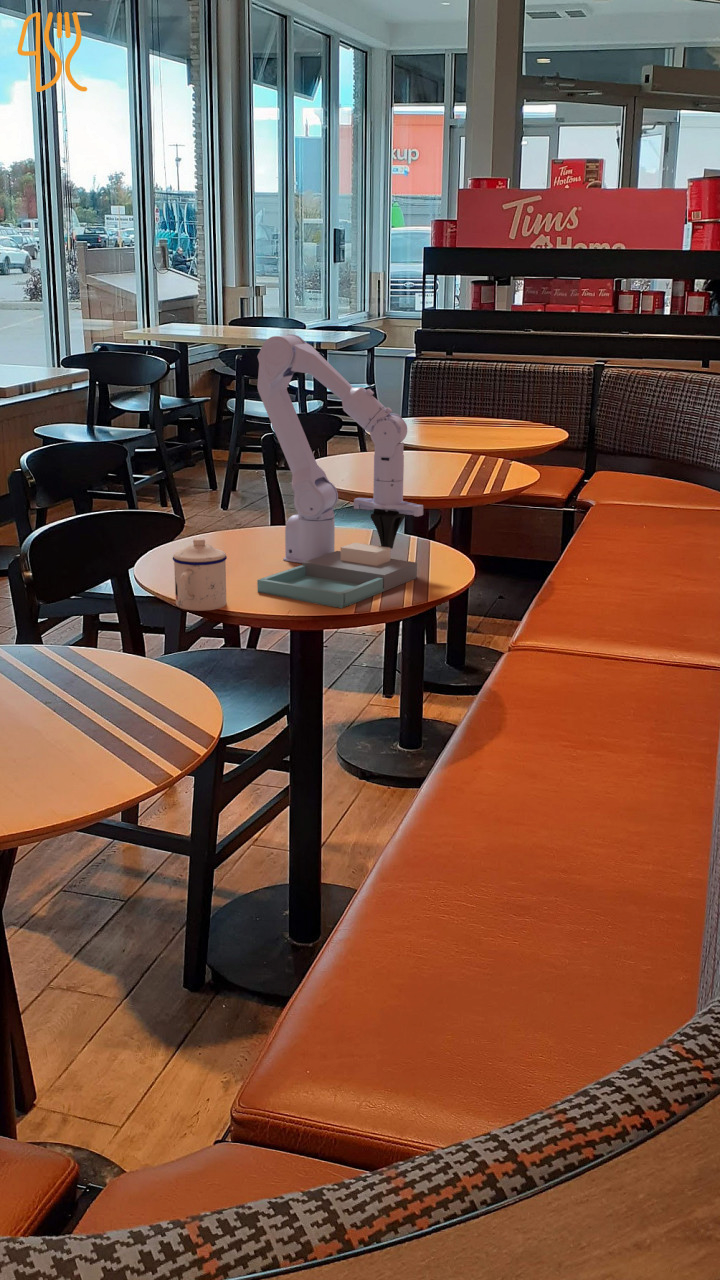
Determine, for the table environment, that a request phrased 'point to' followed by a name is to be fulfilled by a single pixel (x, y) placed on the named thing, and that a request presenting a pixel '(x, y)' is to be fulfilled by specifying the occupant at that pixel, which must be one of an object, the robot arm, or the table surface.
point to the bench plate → (360, 570)
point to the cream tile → (365, 554)
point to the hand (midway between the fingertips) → (387, 548)
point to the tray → (317, 588)
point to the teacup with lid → (200, 577)
